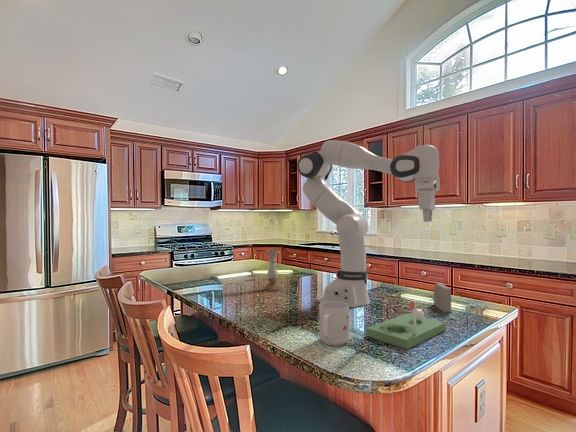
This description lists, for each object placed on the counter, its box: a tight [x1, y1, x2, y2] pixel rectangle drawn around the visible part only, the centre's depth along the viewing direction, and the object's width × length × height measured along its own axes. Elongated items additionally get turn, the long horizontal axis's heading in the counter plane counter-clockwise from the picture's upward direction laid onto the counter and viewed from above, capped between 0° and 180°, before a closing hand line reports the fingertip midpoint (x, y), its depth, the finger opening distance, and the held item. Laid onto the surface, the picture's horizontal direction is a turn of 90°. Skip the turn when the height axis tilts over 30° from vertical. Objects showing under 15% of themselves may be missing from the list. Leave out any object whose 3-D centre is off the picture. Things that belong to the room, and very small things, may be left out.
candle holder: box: [263, 249, 282, 292], centre depth 172 cm, size 9×9×20 cm
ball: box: [411, 308, 425, 321], centre depth 111 cm, size 4×4×4 cm
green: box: [366, 300, 446, 350], centre depth 107 cm, size 24×14×12 cm, turn 130°
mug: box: [318, 301, 350, 347], centre depth 98 cm, size 12×9×11 cm
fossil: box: [432, 282, 452, 313], centre depth 136 cm, size 12×4×10 cm, turn 173°
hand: (427, 221), depth 128 cm, fingers open, 8 cm apart
